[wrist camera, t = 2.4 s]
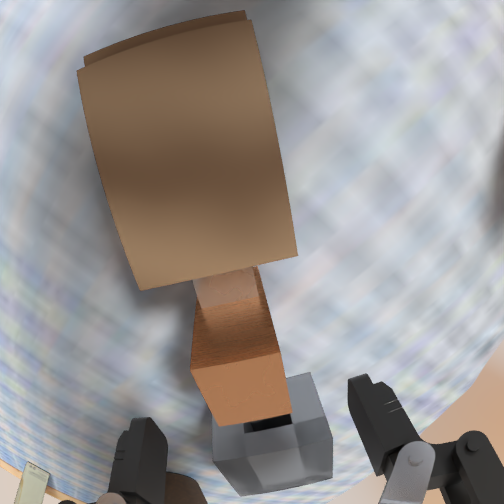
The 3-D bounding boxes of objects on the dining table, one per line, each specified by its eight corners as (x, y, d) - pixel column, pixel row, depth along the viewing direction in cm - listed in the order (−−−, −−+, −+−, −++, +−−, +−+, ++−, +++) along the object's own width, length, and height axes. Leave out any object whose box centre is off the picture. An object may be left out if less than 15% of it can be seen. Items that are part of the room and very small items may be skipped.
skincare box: (27, 460, 28) (10, 518, 17) (50, 473, 30) (36, 531, 18) (24, 468, 30) (9, 520, 18) (45, 480, 31) (33, 532, 20)
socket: (211, 393, 22) (212, 461, 16) (310, 372, 22) (332, 437, 16) (235, 440, 26) (240, 496, 20) (315, 423, 26) (332, 478, 20)
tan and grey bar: (146, 83, 13) (89, 54, 6) (213, 66, 13) (208, 16, 6) (234, 380, 21) (241, 465, 14) (280, 370, 21) (300, 454, 14)
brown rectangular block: (120, 74, 13) (73, 52, 8) (237, 43, 13) (246, 1, 8) (163, 238, 17) (140, 290, 12) (273, 213, 17) (298, 255, 12)
